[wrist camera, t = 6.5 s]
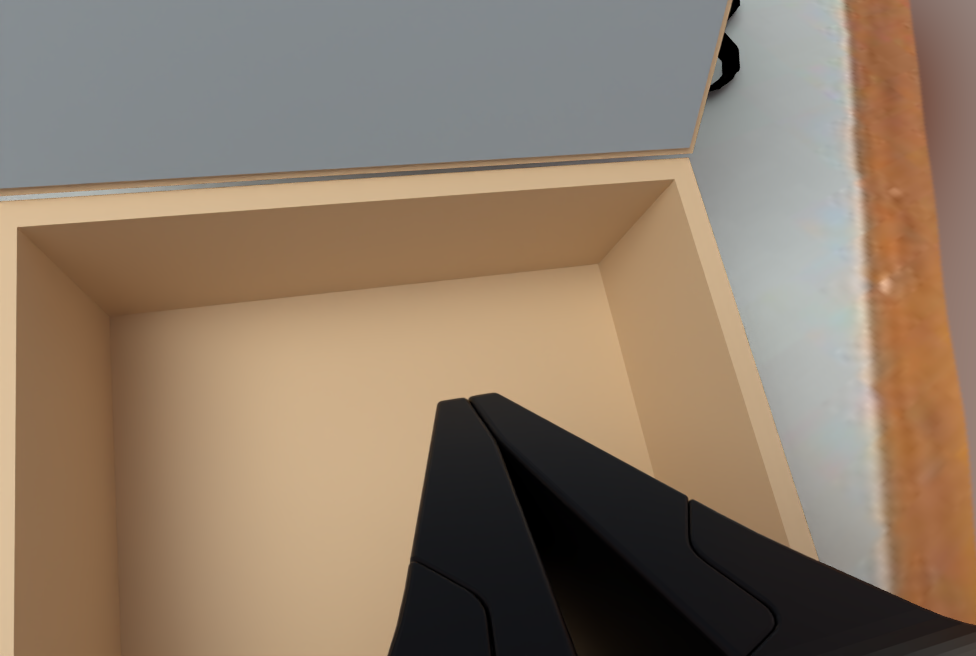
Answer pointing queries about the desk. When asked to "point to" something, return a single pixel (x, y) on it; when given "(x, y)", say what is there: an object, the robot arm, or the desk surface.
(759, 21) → the desk surface
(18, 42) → the mailer lid
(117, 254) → the mailer box
